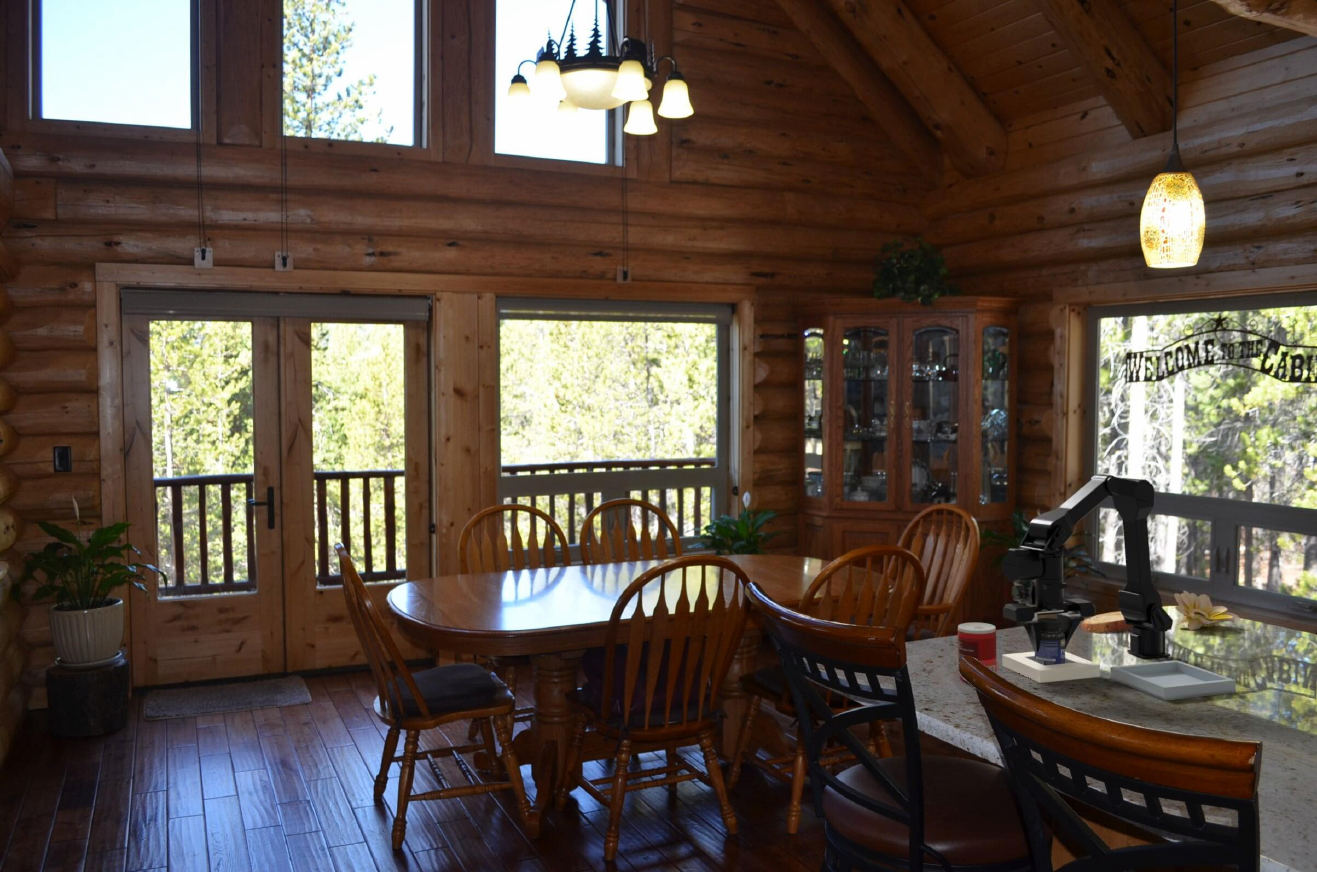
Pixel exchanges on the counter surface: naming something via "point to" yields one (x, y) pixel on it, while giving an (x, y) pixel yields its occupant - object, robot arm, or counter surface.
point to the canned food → (978, 643)
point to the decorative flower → (1201, 611)
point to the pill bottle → (1051, 643)
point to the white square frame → (1051, 667)
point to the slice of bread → (1106, 623)
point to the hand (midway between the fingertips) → (1049, 650)
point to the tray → (1172, 680)
